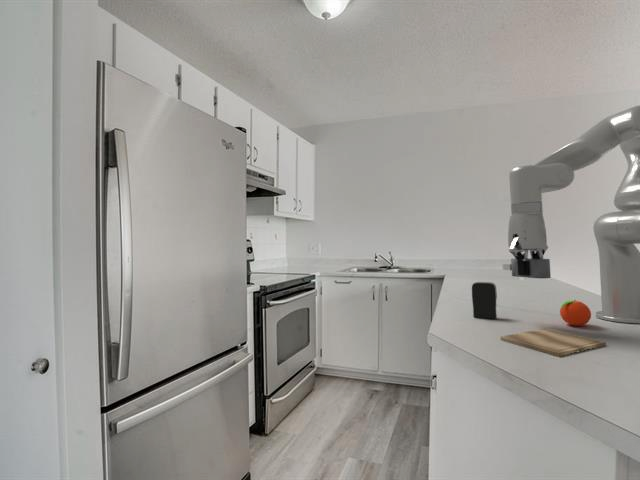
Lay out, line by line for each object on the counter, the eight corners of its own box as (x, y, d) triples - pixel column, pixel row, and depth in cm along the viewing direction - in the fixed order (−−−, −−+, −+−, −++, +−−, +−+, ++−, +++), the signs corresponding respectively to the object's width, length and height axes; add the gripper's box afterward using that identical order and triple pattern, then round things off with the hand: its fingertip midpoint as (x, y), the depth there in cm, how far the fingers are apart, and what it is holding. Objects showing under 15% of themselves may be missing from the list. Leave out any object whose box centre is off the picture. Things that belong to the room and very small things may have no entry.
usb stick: (554, 277, 90) (553, 259, 90) (543, 278, 88) (542, 260, 88) (512, 274, 101) (511, 257, 102) (501, 275, 100) (500, 258, 100)
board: (544, 331, 88) (544, 327, 88) (606, 345, 75) (605, 341, 75) (500, 339, 82) (500, 336, 82) (558, 356, 69) (558, 352, 69)
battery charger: (498, 317, 105) (497, 281, 105) (496, 320, 102) (495, 283, 102) (475, 315, 109) (473, 280, 110) (472, 317, 106) (470, 282, 106)
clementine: (572, 329, 89) (570, 303, 89) (551, 323, 95) (549, 299, 95) (598, 327, 90) (597, 301, 90) (575, 321, 96) (574, 297, 96)
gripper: (534, 211, 100) (538, 271, 100) (493, 212, 94) (497, 276, 94) (560, 208, 93) (564, 273, 93) (517, 208, 87) (521, 278, 87)
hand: (530, 273), depth 94 cm, fingers closed on usb stick, 4 cm apart
